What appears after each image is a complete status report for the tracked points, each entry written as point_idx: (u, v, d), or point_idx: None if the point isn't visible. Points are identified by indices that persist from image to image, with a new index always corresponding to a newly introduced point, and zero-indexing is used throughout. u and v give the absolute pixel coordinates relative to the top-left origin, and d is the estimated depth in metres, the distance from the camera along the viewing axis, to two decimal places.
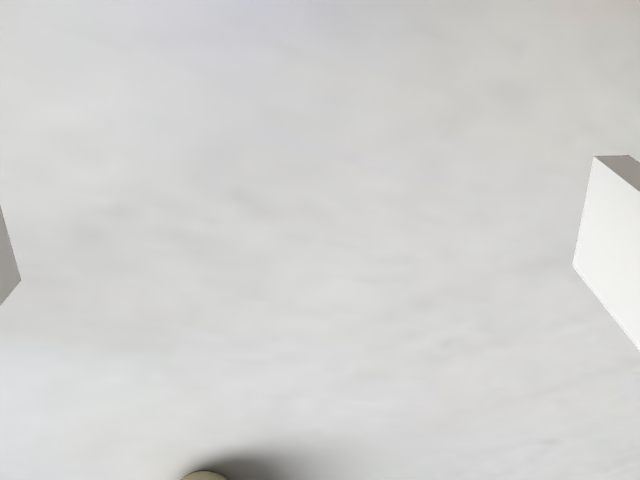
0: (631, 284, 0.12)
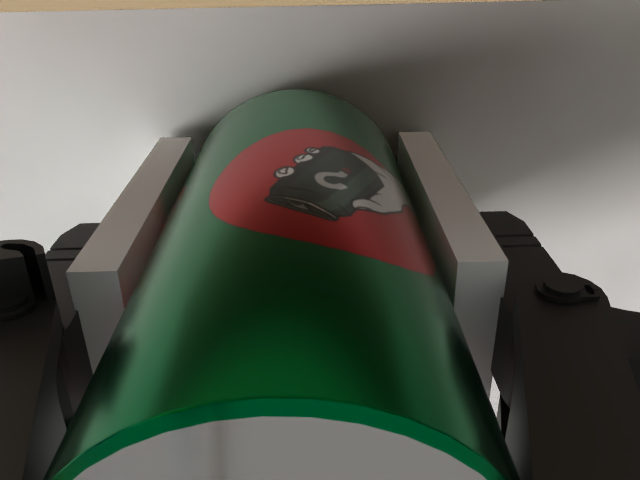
0: None
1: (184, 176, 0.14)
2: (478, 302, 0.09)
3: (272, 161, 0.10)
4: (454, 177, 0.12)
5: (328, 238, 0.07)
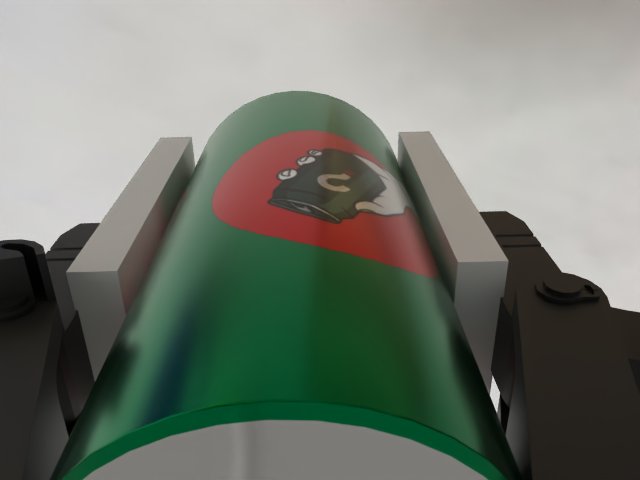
0: None
1: (184, 176, 0.14)
2: (478, 302, 0.09)
3: (274, 163, 0.10)
4: (454, 177, 0.12)
5: (331, 240, 0.07)
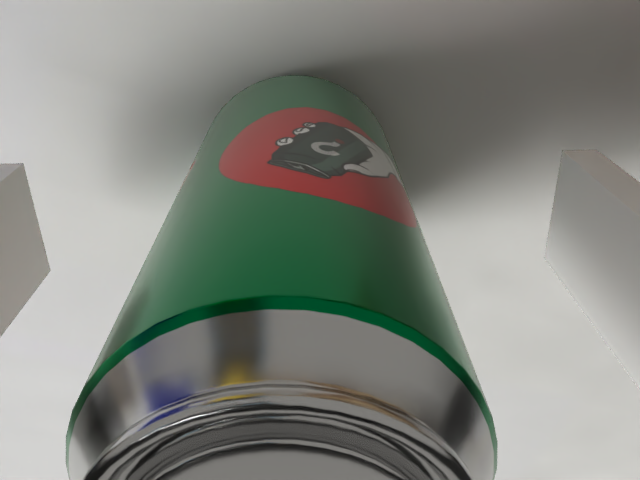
0: (595, 273, 0.12)
1: (2, 209, 0.12)
2: None
3: (273, 132, 0.11)
4: None
5: (321, 191, 0.09)
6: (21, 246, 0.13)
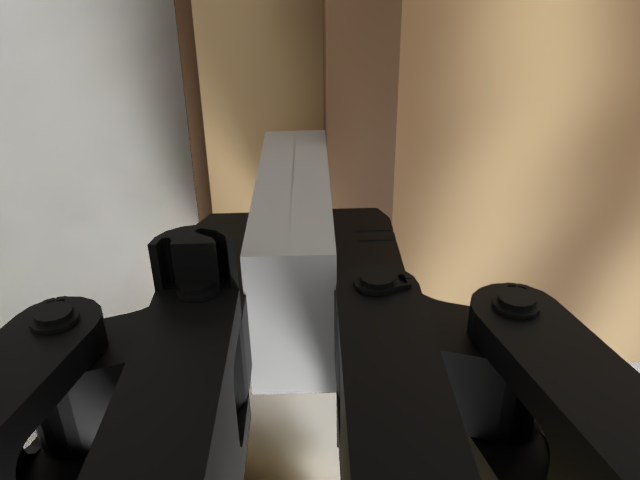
0: None
1: None
2: (312, 295, 0.10)
3: None
4: (326, 174, 0.12)
5: None
6: None
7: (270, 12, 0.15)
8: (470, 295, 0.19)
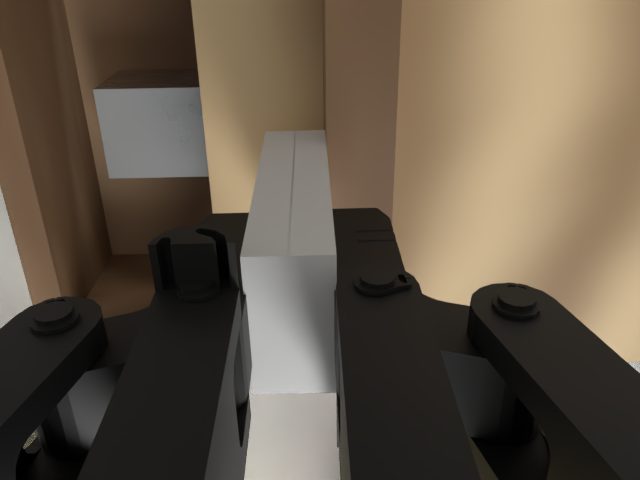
0: None
1: None
2: (312, 295, 0.10)
3: None
4: (326, 174, 0.12)
5: None
6: None
7: (269, 12, 0.15)
8: (470, 295, 0.19)
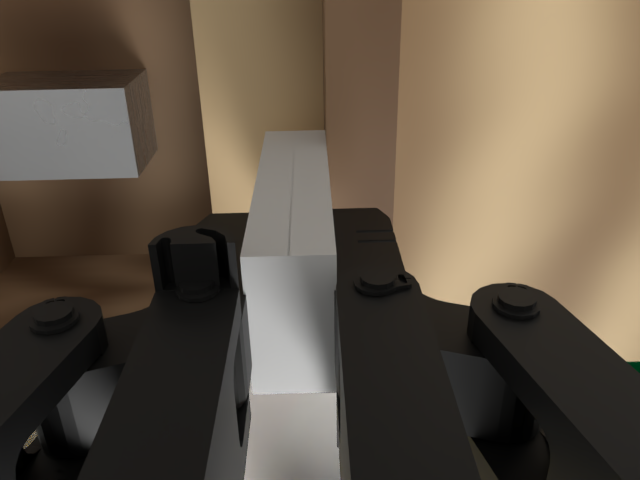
0: None
1: None
2: (313, 295, 0.10)
3: None
4: (326, 174, 0.12)
5: None
6: None
7: (268, 10, 0.15)
8: None
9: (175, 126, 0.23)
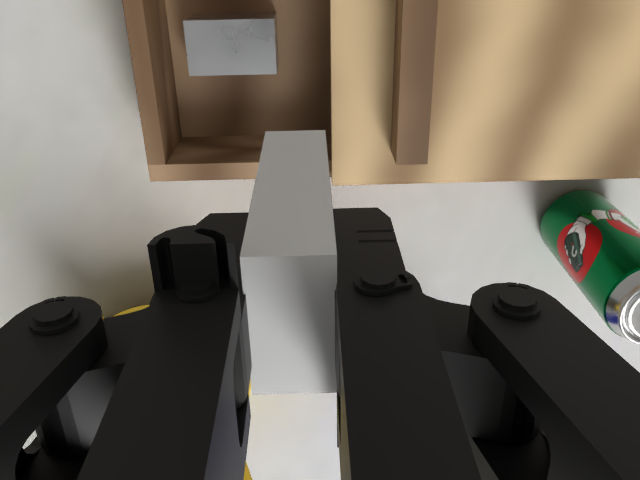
0: None
1: None
2: (313, 295, 0.10)
3: (566, 260, 0.39)
4: (326, 174, 0.12)
5: (586, 269, 0.36)
6: None
7: None
8: (473, 134, 0.33)
9: (291, 48, 0.37)
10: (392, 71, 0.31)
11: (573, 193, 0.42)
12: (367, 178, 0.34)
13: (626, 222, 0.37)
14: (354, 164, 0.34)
